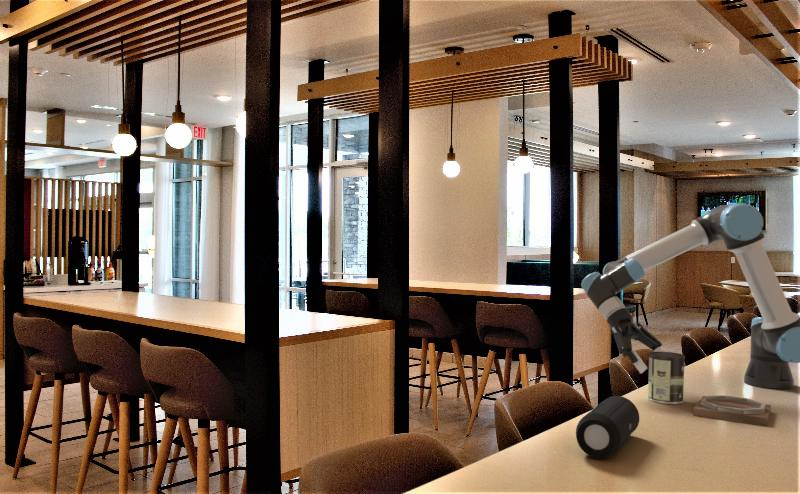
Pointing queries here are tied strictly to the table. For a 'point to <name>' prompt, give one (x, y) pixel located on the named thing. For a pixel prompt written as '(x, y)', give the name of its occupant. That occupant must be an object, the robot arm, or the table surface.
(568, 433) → the table surface
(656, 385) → the coffee can
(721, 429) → the table surface
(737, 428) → the table surface
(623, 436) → the portable speaker
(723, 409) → the collar board
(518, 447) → the table surface
